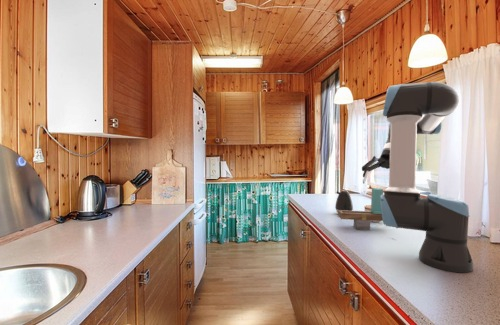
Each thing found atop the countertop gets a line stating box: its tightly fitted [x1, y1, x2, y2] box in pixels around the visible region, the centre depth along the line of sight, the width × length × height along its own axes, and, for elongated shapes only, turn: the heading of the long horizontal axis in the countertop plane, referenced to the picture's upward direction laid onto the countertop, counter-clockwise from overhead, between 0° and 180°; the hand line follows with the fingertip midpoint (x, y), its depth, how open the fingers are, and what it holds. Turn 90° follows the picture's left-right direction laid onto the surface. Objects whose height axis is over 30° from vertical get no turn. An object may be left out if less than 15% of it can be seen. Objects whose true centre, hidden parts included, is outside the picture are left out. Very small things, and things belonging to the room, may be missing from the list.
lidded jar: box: [364, 204, 381, 223], centre depth 149 cm, size 11×11×9 cm
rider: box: [370, 187, 384, 214], centre depth 132 cm, size 6×4×15 cm, turn 174°
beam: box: [337, 210, 383, 231], centre depth 133 cm, size 7×22×8 cm, turn 84°
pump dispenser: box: [334, 189, 354, 214], centre depth 162 cm, size 10×10×15 cm
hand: (377, 186), depth 131 cm, fingers open, 13 cm apart
